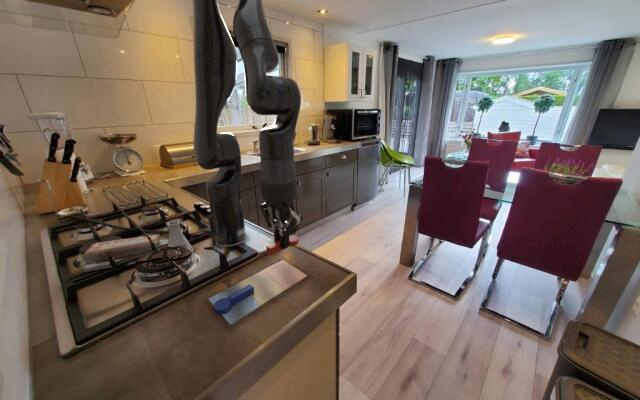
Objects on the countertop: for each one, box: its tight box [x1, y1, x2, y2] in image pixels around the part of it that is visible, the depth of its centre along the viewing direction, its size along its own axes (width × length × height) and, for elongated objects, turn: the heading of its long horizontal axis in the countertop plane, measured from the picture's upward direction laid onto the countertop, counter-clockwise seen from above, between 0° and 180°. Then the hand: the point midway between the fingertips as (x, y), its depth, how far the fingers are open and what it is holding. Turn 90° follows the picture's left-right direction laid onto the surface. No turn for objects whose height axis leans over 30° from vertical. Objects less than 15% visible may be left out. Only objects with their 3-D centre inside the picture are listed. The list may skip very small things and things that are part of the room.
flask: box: [166, 219, 194, 253], centre depth 71 cm, size 7×7×10 cm
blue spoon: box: [213, 284, 254, 316], centre depth 54 cm, size 9×3×2 cm, turn 137°
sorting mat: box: [208, 259, 308, 326], centre depth 60 cm, size 21×10×1 cm, turn 137°
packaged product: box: [82, 234, 169, 273], centre depth 70 cm, size 18×5×10 cm
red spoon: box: [265, 234, 299, 256], centre depth 61 cm, size 9×3×2 cm, turn 137°
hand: (282, 246), depth 61 cm, fingers closed on red spoon, 1 cm apart
